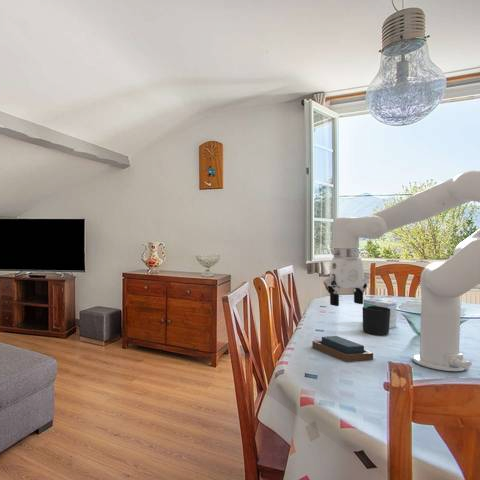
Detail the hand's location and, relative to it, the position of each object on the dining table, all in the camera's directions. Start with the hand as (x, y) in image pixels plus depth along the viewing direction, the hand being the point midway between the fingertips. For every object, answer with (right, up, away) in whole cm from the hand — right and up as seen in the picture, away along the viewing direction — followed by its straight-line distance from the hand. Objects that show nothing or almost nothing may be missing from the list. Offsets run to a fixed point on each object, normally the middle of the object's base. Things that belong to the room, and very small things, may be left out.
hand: (346, 304), depth 135 cm
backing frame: (-2, -16, 0) cm, 16 cm away
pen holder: (+26, -16, +25) cm, 40 cm away
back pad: (-2, -16, -1) cm, 16 cm away
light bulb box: (+35, -15, +38) cm, 54 cm away
